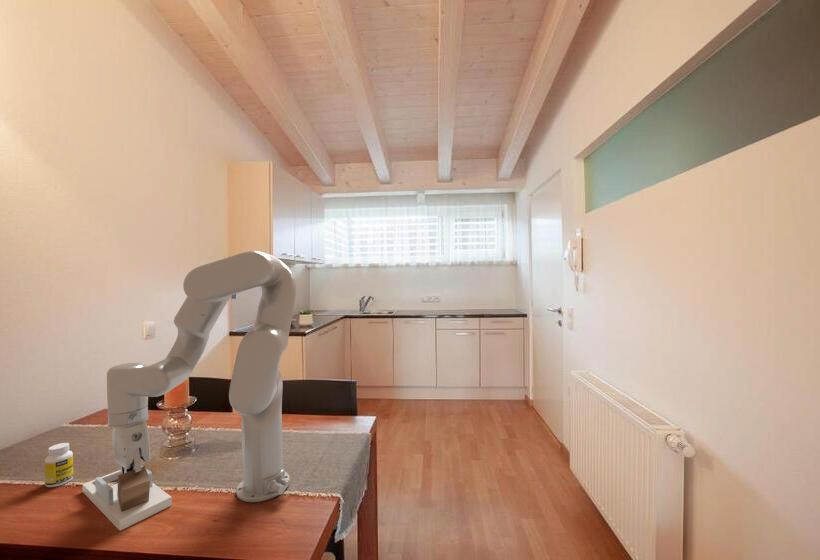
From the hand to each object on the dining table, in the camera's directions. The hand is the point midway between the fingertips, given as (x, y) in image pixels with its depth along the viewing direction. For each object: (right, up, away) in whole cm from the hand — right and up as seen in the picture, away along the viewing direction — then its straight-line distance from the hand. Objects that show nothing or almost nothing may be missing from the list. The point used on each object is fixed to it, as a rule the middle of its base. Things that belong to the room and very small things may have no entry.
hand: (130, 491), depth 85 cm
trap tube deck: (-3, -3, +2) cm, 5 cm away
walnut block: (+3, 0, -3) cm, 4 cm away
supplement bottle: (-27, -4, +10) cm, 29 cm away
